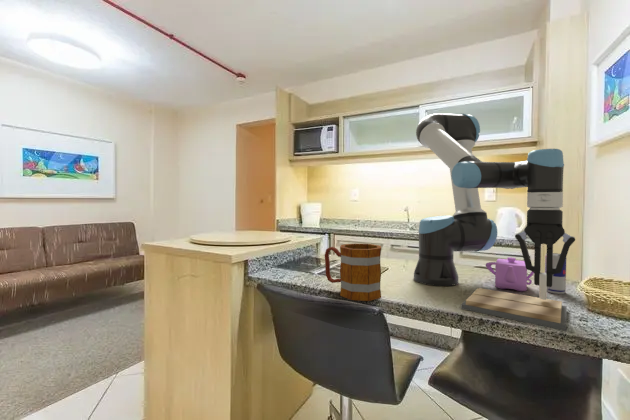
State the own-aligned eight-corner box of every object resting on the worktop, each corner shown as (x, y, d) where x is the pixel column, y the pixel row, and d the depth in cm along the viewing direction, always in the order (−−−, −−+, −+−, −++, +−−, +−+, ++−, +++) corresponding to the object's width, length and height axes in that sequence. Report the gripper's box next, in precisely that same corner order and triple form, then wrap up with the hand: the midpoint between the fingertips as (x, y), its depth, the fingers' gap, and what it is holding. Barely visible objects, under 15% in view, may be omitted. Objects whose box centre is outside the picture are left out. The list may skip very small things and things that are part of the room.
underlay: (461, 308, 84) (461, 304, 84) (475, 294, 96) (475, 290, 96) (565, 330, 70) (566, 325, 70) (566, 310, 82) (566, 306, 82)
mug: (388, 292, 99) (389, 245, 99) (372, 304, 88) (372, 251, 87) (335, 283, 110) (335, 241, 109) (314, 292, 98) (314, 245, 98)
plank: (472, 297, 89) (472, 293, 89) (478, 291, 95) (478, 287, 95) (561, 313, 77) (561, 308, 77) (561, 305, 82) (561, 301, 82)
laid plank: (465, 304, 83) (465, 300, 83) (472, 297, 89) (472, 293, 89) (560, 323, 71) (560, 318, 71) (561, 314, 76) (561, 309, 76)
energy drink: (569, 294, 95) (570, 256, 95) (549, 293, 97) (550, 255, 96) (559, 289, 101) (560, 253, 100) (541, 288, 102) (541, 252, 101)
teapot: (535, 299, 92) (536, 265, 91) (482, 291, 100) (482, 260, 99) (533, 285, 107) (534, 255, 106) (487, 279, 115) (487, 252, 114)
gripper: (513, 208, 82) (511, 296, 83) (577, 209, 74) (575, 307, 75) (516, 208, 88) (515, 290, 89) (576, 208, 80) (574, 299, 81)
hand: (542, 298), depth 82 cm, fingers closed
